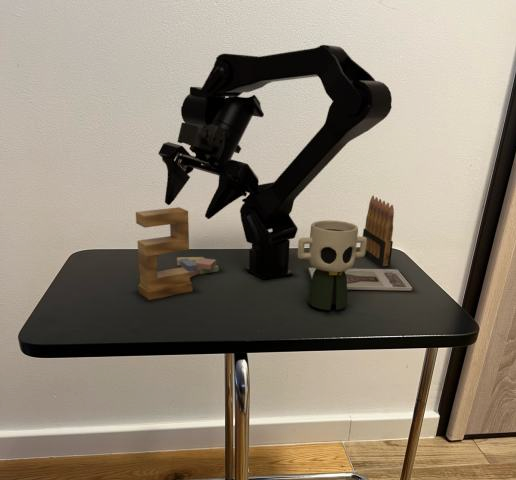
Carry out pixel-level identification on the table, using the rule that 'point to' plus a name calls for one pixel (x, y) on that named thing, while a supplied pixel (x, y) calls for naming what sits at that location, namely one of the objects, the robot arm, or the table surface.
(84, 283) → the table surface
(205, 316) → the table surface
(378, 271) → the graded card
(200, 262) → the letter pile
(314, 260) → the character mug
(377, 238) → the ammunition clip
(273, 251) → the robot arm
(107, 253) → the table surface
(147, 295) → the wooden numeral
